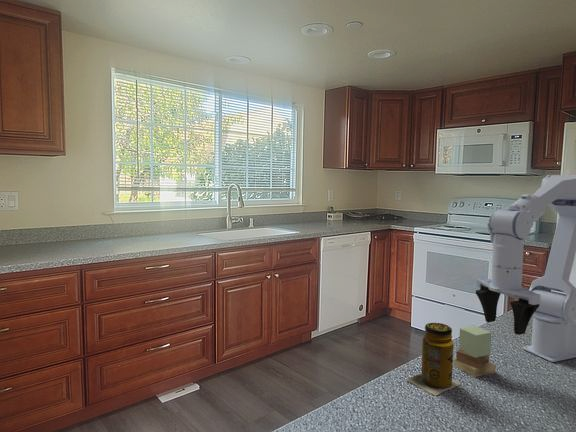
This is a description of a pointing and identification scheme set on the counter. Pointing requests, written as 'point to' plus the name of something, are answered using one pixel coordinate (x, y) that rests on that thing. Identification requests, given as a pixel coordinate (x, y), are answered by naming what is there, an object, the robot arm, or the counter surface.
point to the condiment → (436, 360)
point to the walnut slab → (471, 359)
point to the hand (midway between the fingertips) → (504, 327)
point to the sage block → (475, 341)
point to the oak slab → (474, 371)
